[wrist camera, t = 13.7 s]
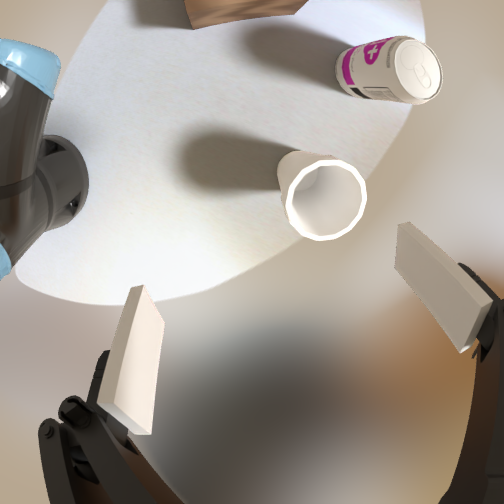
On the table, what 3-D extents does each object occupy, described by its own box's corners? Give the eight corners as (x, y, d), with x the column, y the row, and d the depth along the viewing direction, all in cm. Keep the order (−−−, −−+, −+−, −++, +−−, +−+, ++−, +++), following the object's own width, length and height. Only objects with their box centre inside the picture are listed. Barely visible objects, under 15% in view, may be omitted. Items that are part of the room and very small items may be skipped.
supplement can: (322, 65, 32) (375, 52, 19) (360, 40, 30) (421, 24, 17) (354, 108, 35) (415, 119, 23) (389, 82, 33) (455, 86, 20)
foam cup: (331, 191, 42) (369, 227, 31) (276, 208, 43) (297, 251, 32) (319, 133, 37) (359, 149, 26) (258, 150, 38) (276, 172, 27)
